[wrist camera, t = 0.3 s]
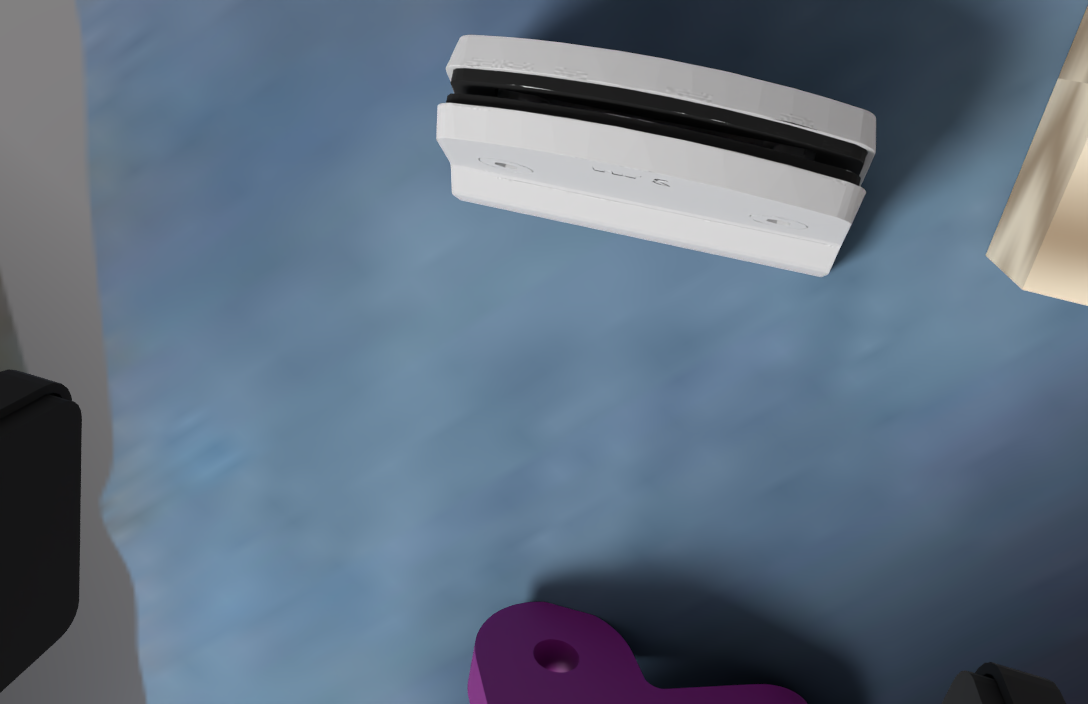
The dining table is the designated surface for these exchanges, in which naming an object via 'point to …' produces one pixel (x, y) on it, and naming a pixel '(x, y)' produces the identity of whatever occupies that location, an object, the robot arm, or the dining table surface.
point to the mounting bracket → (578, 665)
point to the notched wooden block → (1052, 193)
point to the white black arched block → (655, 149)
